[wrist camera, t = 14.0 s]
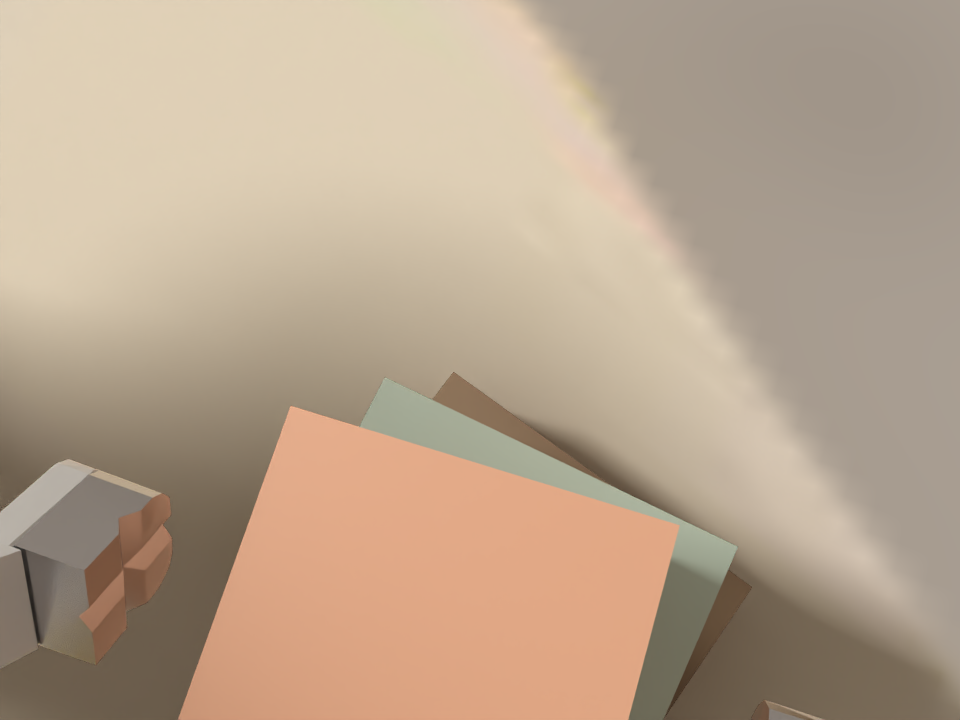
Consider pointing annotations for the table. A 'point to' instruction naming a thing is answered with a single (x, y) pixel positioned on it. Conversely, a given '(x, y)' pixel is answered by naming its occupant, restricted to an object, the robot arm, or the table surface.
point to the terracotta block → (426, 591)
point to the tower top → (695, 550)
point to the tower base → (493, 415)
